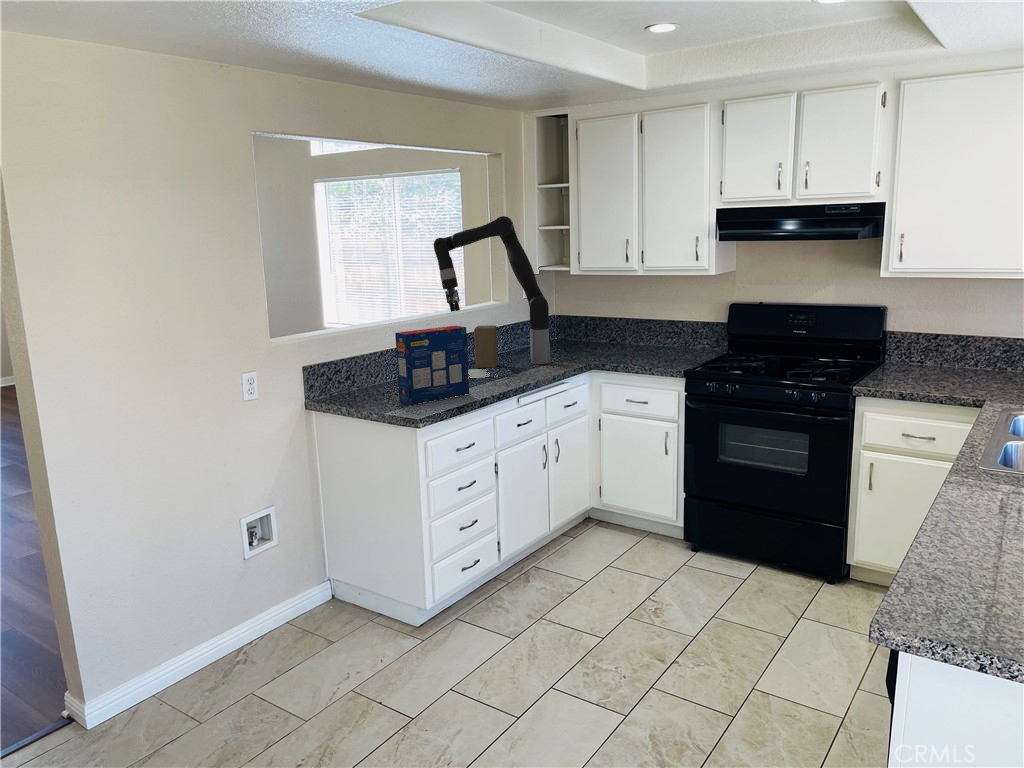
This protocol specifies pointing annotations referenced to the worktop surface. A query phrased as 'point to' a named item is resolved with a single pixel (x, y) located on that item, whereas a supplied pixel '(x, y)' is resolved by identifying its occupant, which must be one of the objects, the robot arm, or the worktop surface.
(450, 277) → the robot arm
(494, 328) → the wooden block
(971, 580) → the worktop surface
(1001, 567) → the worktop surface
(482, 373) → the mat
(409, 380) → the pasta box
